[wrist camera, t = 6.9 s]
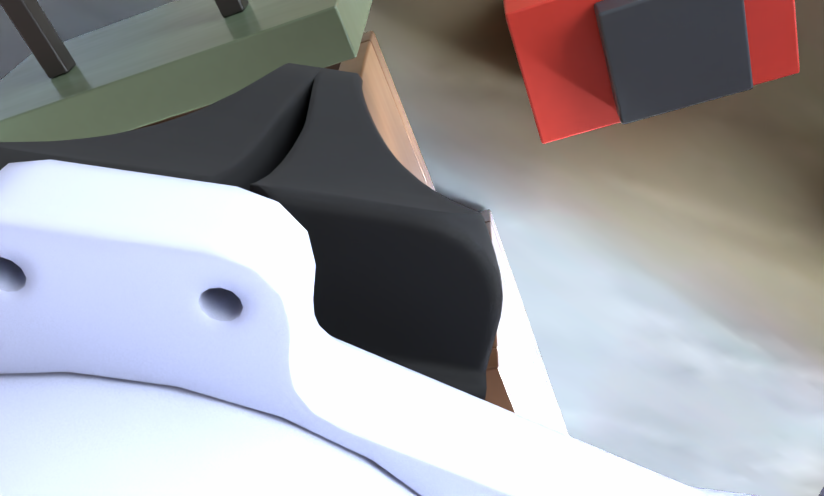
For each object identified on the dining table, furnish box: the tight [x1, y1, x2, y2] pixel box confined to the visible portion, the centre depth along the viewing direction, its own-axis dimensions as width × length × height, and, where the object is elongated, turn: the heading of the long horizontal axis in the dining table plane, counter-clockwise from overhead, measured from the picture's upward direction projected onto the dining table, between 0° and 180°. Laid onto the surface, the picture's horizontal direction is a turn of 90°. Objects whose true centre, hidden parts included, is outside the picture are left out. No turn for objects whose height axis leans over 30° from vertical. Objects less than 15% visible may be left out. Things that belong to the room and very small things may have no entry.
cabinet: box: [479, 210, 569, 436], centre depth 29 cm, size 13×12×8 cm
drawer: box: [0, 0, 435, 190], centre depth 22 cm, size 17×11×6 cm, turn 20°
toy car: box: [503, 0, 800, 144], centre depth 21 cm, size 7×4×4 cm, turn 110°
